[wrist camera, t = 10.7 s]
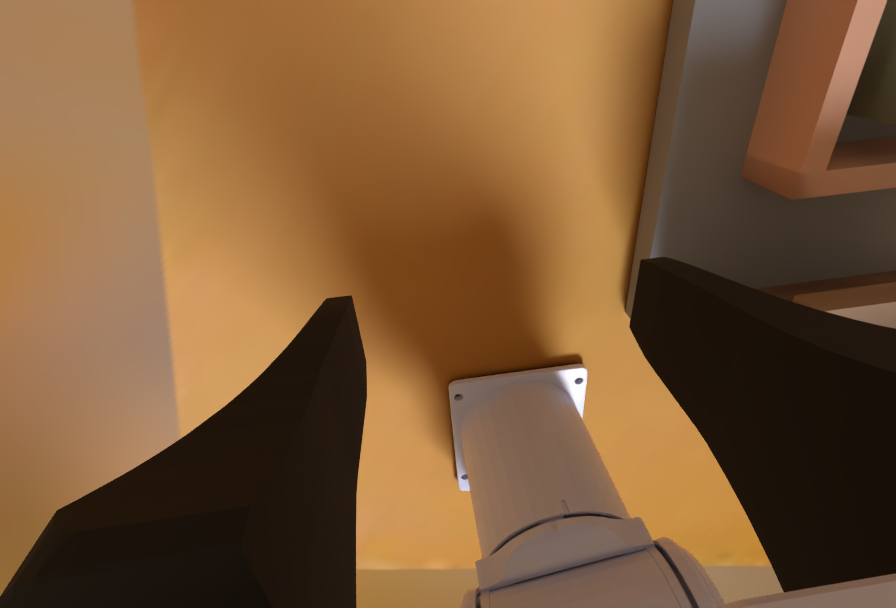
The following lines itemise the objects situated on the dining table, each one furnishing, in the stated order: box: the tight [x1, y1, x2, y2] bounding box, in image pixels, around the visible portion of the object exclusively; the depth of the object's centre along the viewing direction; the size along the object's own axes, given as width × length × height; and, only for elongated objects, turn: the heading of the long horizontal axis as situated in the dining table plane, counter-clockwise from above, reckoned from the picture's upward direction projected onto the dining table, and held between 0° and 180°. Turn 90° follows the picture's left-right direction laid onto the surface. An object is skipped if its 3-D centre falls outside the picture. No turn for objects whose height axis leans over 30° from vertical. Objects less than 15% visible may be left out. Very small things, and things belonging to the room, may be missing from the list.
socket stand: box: [625, 0, 896, 319], centre depth 19 cm, size 18×16×4 cm
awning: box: [756, 271, 896, 329], centre depth 19 cm, size 6×14×8 cm, turn 94°
